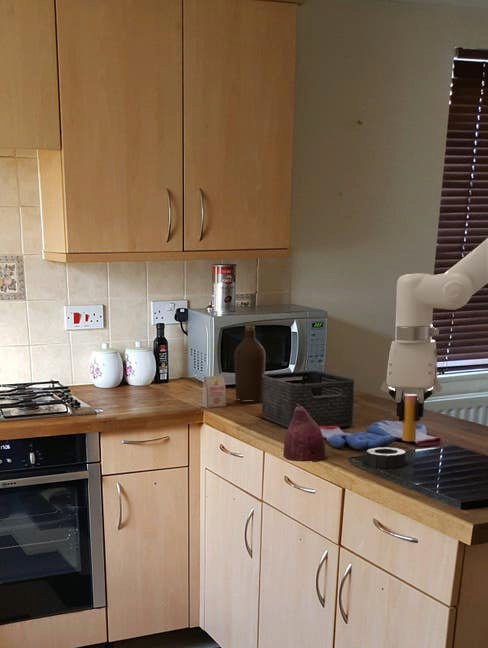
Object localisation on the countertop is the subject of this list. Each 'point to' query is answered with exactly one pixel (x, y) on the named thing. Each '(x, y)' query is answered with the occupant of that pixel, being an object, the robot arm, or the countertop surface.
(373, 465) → the tape
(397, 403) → the robot arm
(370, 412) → the countertop surface
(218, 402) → the pink carton
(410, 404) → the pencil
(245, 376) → the brown bottle
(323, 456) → the vegetable
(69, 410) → the countertop surface
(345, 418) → the storage bin
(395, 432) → the pair of gloves
